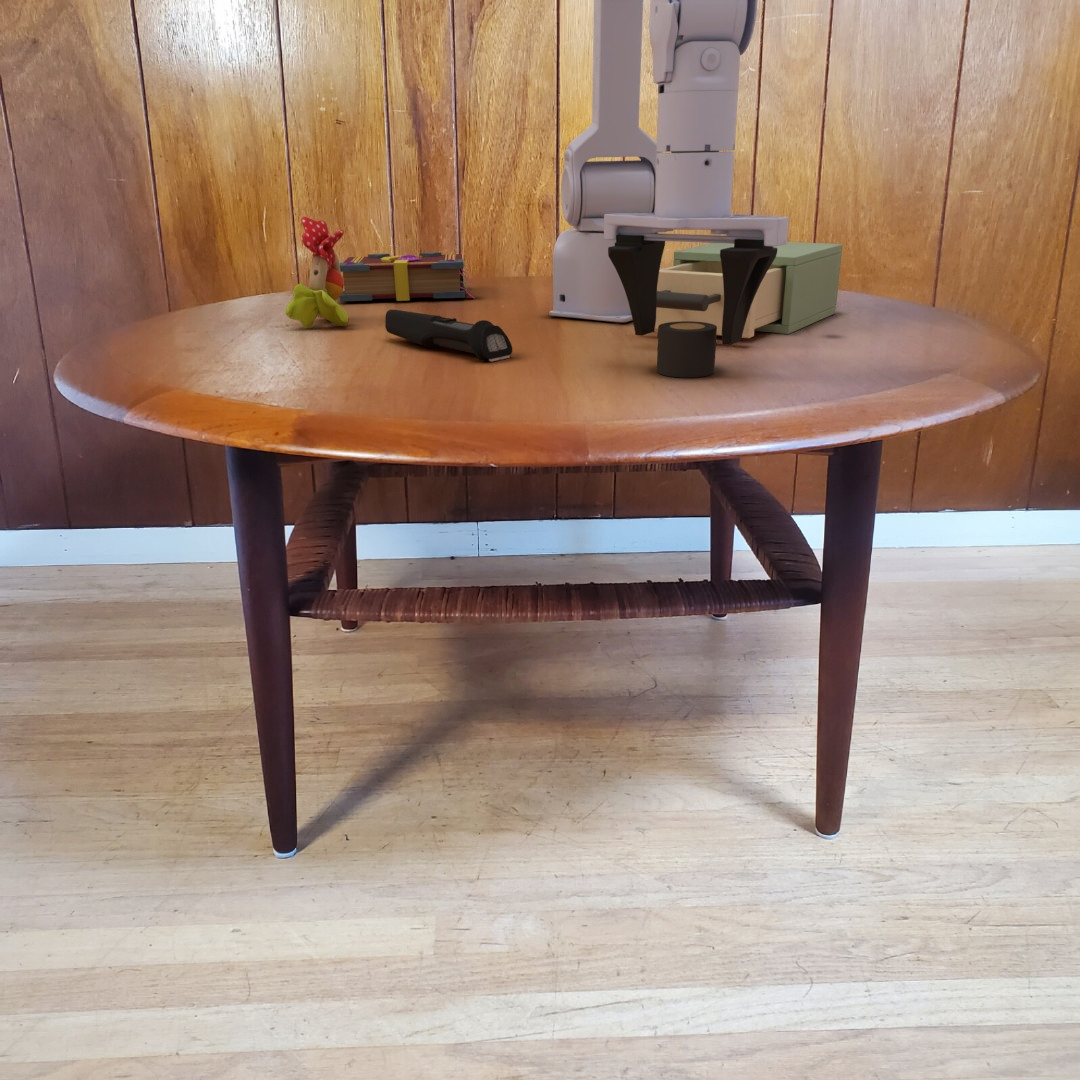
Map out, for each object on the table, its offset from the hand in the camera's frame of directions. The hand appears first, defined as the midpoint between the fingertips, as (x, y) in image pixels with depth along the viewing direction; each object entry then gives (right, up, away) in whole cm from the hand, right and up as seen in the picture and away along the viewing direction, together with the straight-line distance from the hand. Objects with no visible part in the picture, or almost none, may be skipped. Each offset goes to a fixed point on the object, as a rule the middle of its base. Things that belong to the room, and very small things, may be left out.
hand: (687, 337), depth 73 cm
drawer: (+5, +4, +15) cm, 16 cm away
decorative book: (-28, +15, +43) cm, 53 cm away
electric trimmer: (-21, +1, +11) cm, 23 cm away
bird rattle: (-35, +7, +25) cm, 43 cm away
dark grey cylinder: (0, -2, +1) cm, 3 cm away
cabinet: (+11, +7, +23) cm, 27 cm away
